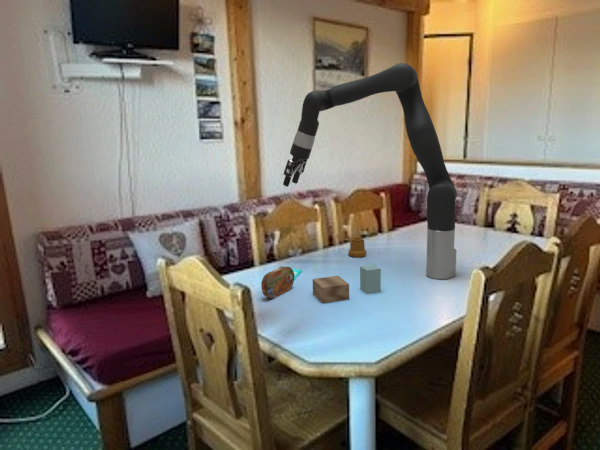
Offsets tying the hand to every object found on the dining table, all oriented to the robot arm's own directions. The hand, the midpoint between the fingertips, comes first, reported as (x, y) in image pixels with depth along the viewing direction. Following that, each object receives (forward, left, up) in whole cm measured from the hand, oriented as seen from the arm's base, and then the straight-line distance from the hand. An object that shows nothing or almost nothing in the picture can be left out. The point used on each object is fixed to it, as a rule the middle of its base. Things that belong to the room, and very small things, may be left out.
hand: (290, 184), depth 183 cm
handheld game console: (+9, +16, -32) cm, 37 cm away
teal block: (-15, +40, -32) cm, 53 cm away
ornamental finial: (-28, +1, -32) cm, 42 cm away
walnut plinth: (-1, +40, -31) cm, 51 cm away
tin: (+14, +31, -32) cm, 47 cm away
